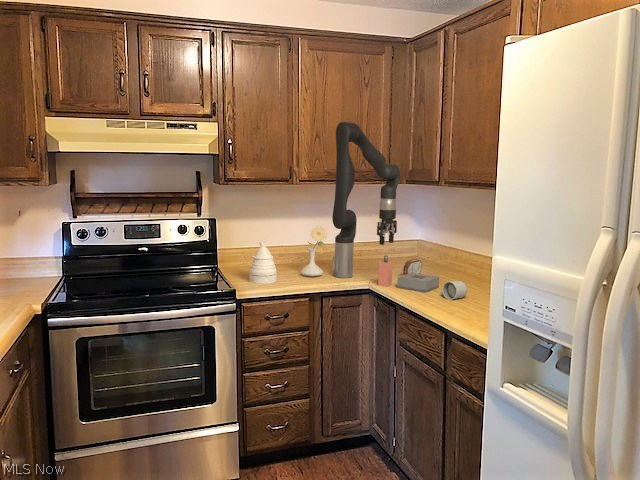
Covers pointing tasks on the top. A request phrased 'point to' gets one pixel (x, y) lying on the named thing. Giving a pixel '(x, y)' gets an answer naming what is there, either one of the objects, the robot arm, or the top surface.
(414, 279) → the socket block
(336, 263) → the robot arm
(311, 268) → the flower in vase
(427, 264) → the top surface
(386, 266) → the plug
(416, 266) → the tin
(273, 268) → the honey pot
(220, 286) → the top surface
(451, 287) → the ceramic mug
